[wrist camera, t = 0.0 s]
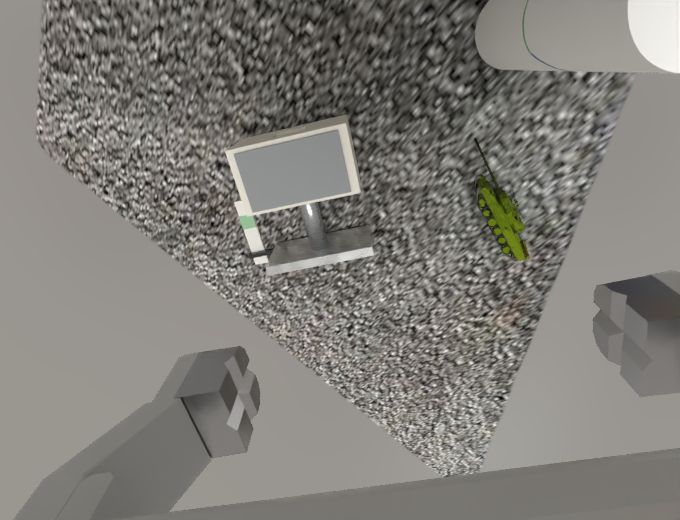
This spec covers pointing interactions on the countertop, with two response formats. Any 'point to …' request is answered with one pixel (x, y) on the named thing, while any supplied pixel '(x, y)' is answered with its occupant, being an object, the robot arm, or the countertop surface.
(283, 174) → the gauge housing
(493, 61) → the container
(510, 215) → the toy tank
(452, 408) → the countertop surface
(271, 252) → the plate
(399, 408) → the countertop surface
